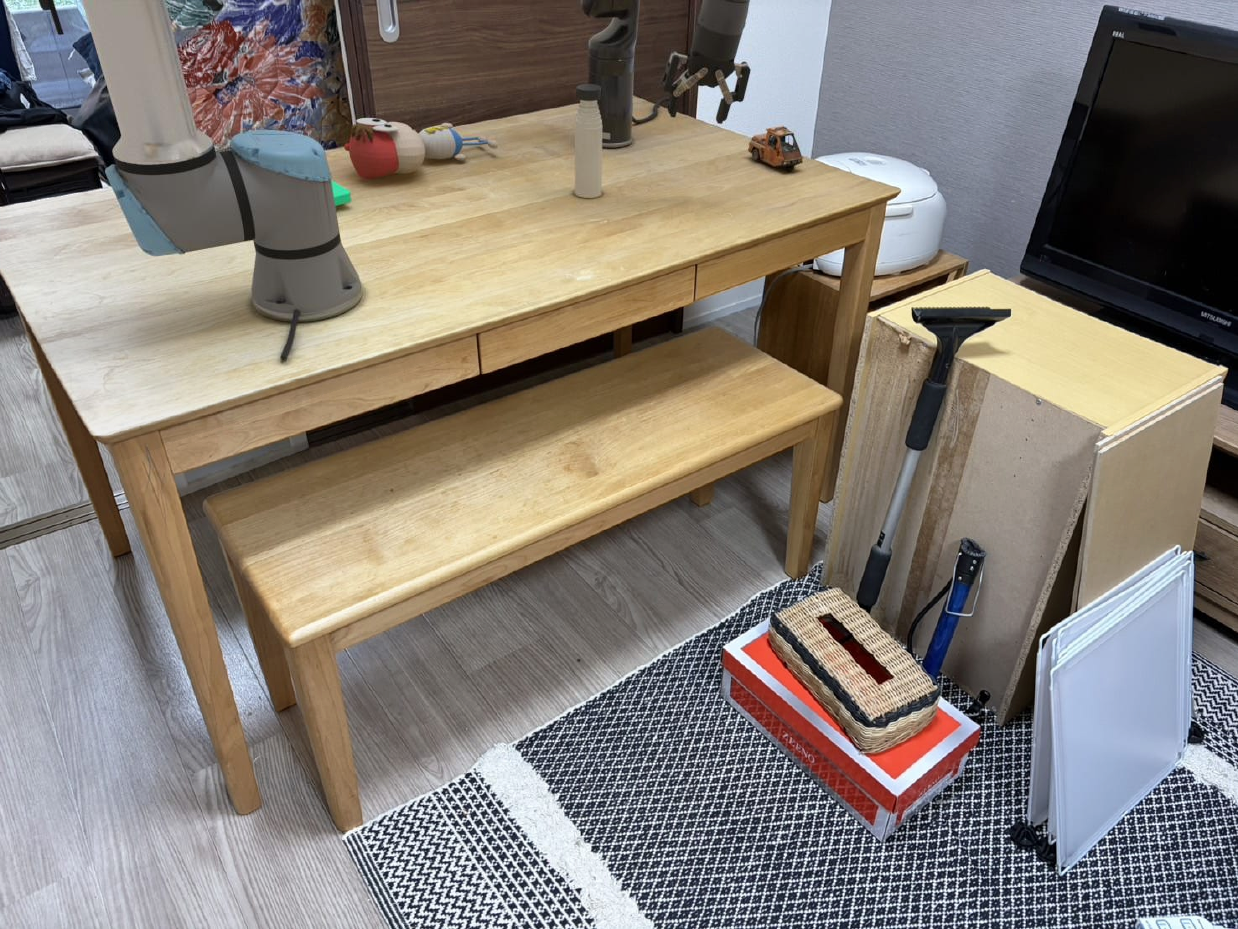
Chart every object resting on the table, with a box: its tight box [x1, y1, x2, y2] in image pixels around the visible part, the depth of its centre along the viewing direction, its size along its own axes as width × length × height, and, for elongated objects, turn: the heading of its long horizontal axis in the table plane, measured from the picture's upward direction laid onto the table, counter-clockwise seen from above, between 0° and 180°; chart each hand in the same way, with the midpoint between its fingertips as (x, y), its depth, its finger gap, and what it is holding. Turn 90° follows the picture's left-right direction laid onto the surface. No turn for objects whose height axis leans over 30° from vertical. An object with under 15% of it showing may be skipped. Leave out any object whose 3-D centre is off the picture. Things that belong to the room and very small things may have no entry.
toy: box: [343, 117, 499, 180], centre depth 179 cm, size 18×10×30 cm
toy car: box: [747, 125, 804, 172], centre depth 184 cm, size 6×12×7 cm, turn 39°
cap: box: [575, 83, 601, 101], centre depth 160 cm, size 4×4×2 cm
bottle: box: [574, 99, 603, 199], centre depth 166 cm, size 5×5×18 cm
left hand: (108, 29), depth 146 cm, fingers open, 13 cm apart
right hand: (695, 118), depth 161 cm, fingers open, 8 cm apart
